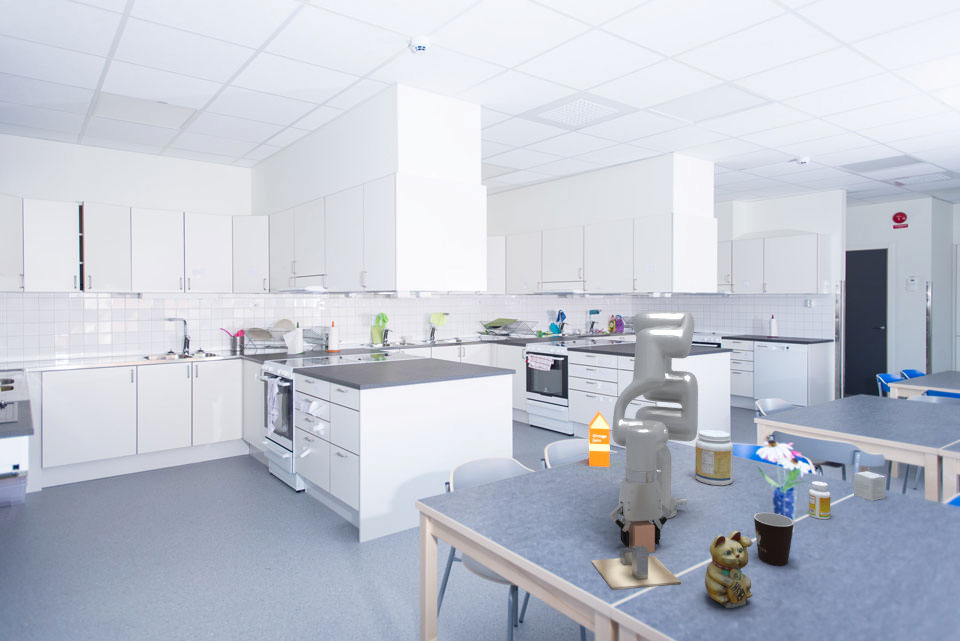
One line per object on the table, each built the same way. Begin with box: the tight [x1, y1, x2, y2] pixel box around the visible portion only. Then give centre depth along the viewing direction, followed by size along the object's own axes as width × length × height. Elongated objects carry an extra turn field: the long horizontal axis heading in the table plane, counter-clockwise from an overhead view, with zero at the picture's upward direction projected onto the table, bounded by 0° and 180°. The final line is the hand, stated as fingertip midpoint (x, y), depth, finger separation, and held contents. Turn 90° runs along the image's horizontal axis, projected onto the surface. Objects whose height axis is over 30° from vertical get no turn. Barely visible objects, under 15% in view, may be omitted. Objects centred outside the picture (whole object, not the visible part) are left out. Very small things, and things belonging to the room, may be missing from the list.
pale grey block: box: [853, 470, 886, 502], centre depth 180 cm, size 6×6×7 cm
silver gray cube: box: [619, 547, 632, 566], centre depth 133 cm, size 3×3×3 cm
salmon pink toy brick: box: [628, 521, 656, 553], centre depth 142 cm, size 5×5×7 cm
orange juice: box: [588, 410, 611, 468], centre depth 218 cm, size 8×9×20 cm
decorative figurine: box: [704, 530, 754, 609], centre depth 118 cm, size 10×8×15 cm
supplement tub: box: [695, 429, 734, 486], centre depth 196 cm, size 12×12×17 cm
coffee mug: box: [753, 512, 795, 567], centre depth 137 cm, size 12×9×10 cm
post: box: [632, 546, 649, 580], centre depth 126 cm, size 3×3×6 cm
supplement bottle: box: [808, 480, 831, 520], centre depth 163 cm, size 5×5×10 cm
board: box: [591, 555, 682, 590], centre depth 130 cm, size 16×13×1 cm
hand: (640, 543), depth 142 cm, fingers open, 7 cm apart
